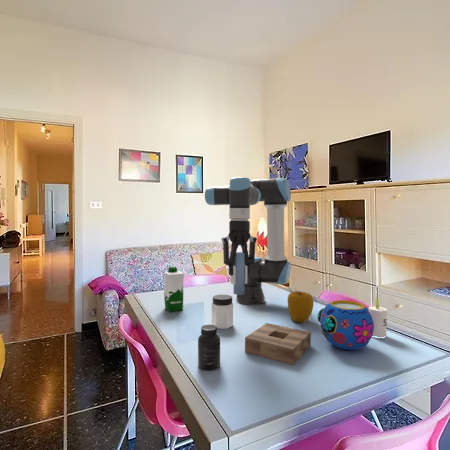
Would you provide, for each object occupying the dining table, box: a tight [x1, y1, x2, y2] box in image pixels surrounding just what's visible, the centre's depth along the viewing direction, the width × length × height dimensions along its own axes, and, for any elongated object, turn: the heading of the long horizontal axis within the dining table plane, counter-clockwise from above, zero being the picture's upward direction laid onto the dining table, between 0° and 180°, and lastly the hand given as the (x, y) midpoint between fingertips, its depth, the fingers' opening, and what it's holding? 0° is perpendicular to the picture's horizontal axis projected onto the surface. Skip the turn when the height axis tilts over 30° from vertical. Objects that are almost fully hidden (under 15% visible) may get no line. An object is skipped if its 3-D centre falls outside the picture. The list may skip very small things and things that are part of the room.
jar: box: [211, 294, 234, 330], centre depth 133 cm, size 9×8×12 cm
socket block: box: [244, 322, 312, 366], centre depth 110 cm, size 17×17×5 cm
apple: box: [287, 290, 314, 323], centre depth 140 cm, size 11×11×13 cm
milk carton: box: [163, 266, 184, 313], centre depth 155 cm, size 9×9×20 cm
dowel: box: [233, 251, 245, 296], centre depth 118 cm, size 4×4×15 cm
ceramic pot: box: [317, 299, 374, 351], centre depth 112 cm, size 18×18×15 cm
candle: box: [368, 296, 388, 337], centre depth 122 cm, size 6×6×15 cm
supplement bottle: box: [197, 324, 221, 371], centre depth 97 cm, size 7×7×12 cm
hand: (239, 283), depth 118 cm, fingers closed on dowel, 4 cm apart
